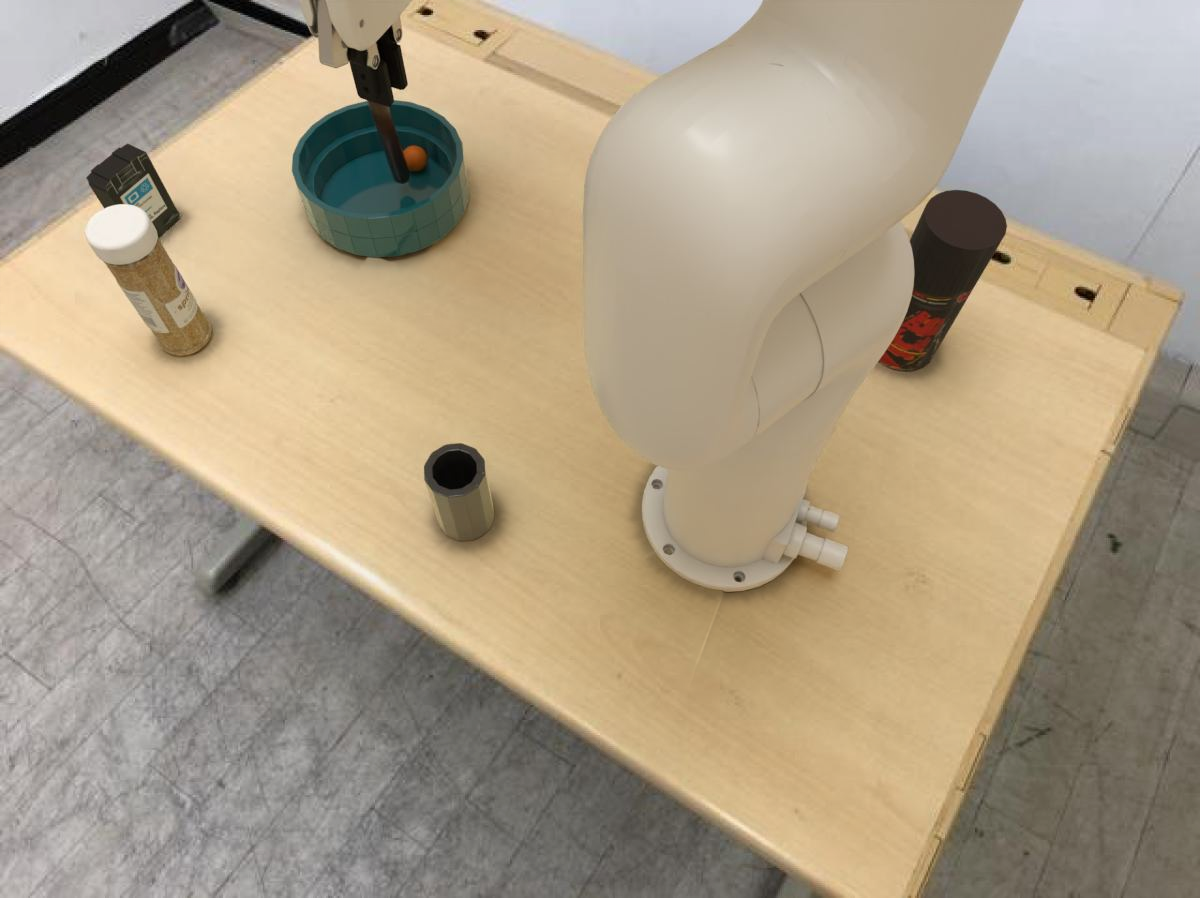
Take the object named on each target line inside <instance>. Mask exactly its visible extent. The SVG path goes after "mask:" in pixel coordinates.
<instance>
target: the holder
mask: <svg viewBox="0 0 1200 898" xmlns="http://www.w3.org/2000/svg"><path fill="white" fill-rule="evenodd" d="M488 475H489V474H488V470H487V466H486V460H485V458H484V457H483V455H482V454H481V453H480V452H479V451H478V450H477V448H475V447H473V446H470V445H468V444H465V443H462V442H457V443H449V444H448V443H446V444H444V445H442V446H440V447H439V448H437V449H436V450H433V451H432V452H431V453H430V454H429V456H428V458H427V459H426V461H425V463H424V465H423V479H424V483H425V486H426V489H427V493H428V495H429V498H430V501H431V505H432V508H433V511H434V514H435V517H436V520H437V523H438V526H439V528H440V529H441V530H442V532H443V533H444V534H445V536H446V537H449V538H450V539H452V540H456V541H458V542H471V541H475V540H477V539H479V538H481V537H483V536H484V535H485V534H486V533H488V532H489V530H490V529H491V528H492V525H493V523H494V521H495V510H494V503H493V502H494V501H493V497H492V492H491V486H490V481H489V476H488Z"/></svg>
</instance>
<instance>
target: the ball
mask: <svg viewBox="0 0 1200 898" xmlns="http://www.w3.org/2000/svg"><path fill="white" fill-rule="evenodd" d="M403 153H404V157H405V160H406V163H407V166H408V169H409V170H410V171H413V172H418V171H421V170H422V169H424V168H425V166H426V164H427V155H426V152H425V151H424V150H423V149H422V148H421V147H419V146H414V145H413V146H409V147H407V148H406V149H405V150H404V151H403Z"/></svg>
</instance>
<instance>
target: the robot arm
mask: <svg viewBox="0 0 1200 898" xmlns="http://www.w3.org/2000/svg"><path fill="white" fill-rule="evenodd" d="M1024 1H1025V0H762V1H761V4H760V5H759V7H758V8H757V10H756V11H755V12H754V14H753V15H752V16H751V17H750V18H749V19H748V20H747V21H746V22H745V23H744V24H743V25H742V26H741V27H740V28H739V29H738V30H737V31H735V32H734V33H732V34H731V35H729V37H728V38H726V39H725V40H723V41H721V42H720V43H718V44H717V45H715V46H713V47H711V48H709V49H707V50H706V51H704V52H701V53H700V54H698V55H696V56H694V57H693V58H691V59H689V60H688V61H686V62H684V63H682V64H680V65H678V66H677V67H675V68H673V69H671V70H670V71H668V72H666V73H664V74H663V75H661V76H659V77H657V78H656V79H654V80H652V81H651V82H650V83H648V84H647V85H645V86H644V87H643V88H641V89H640V90H638V91H637V92H635V93H634V94H633V95H632V96H631V97H629V98H628V99H627V100H626V101H625V102H624V103H623V104H622V105H621V106H620V107H619V108H618V109H617V110H616V111H615V112H614V114H613V115H612V116H611V118H609V120H608V122H607V123H606V125H605V126H604V128H603V129H602V131H601V133H600V135H599V136H598V138H597V140H596V143H595V145H594V147H593V149H592V152H591V154H590V156H589V160H588V164H587V167H586V172H585V178H584V186H583V205H582V324H583V325H582V330H583V332H582V333H583V348H584V359H585V365H586V369H587V373H588V378H589V382H590V386H591V389H592V392H593V394H594V397H595V400H596V402H597V404H598V407H599V408H600V411H601V413H602V415H603V417H604V419H605V421H606V422H607V424H608V426H609V427H610V428H611V430H612V431H613V432H614V434H615V435H616V436H617V438H619V440H620V441H621V442H622V443H623V444H624V445H625V446H626V447H627V448H628V449H629V450H630V451H631V452H632V453H634V454H635V455H636V456H638V457H640V458H641V459H643V460H645V461H646V462H648V463H650V464H652V465H654V466H656V467H654V470H653V471H652V472H651V474H650V476H649V477H648V479H647V482H646V485H645V487H644V490H643V495H642V501H641V520H642V526H643V530H644V532H645V535H646V538H647V541H648V543H649V544H650V546H651V548H652V550H653V551H654V553H655V554H656V556H657V557H658V558H659V559H660V560H661V561H662V563H664V564H665V566H666V567H667V568H669V569H670V570H671V571H672V572H673V573H675V574H676V575H678V576H680V578H682V579H684V580H686V581H689V582H691V583H693V584H695V585H698V586H701V587H704V588H707V589H712V590H718V591H719V590H720V591H722V592H727V593H729V592H744V591H747V590H752V589H755V588H760V587H761V586H763V585H766V584H767V583H769V582H772V581H774V580H775V579H776V578H778V577H779V576H780V575H782V573H784V572H785V571H786V569H787V568H788V567H789V566H790V565H791V564H792V563H793V562H794V560H796V559H797V558H798V556H801V557H804V558H806V559H809V560H811V561H814V562H815V563H817V564H819V565H822V566H825V567H827V568H830V569H833V570H836V571H838V572H840V571H841V569H842V568H843V565H844V563H845V561H846V559H847V555H848V552H849V546H848V545H845V544H843V543H840V542H838V541H835V540H833V539H830V538H827V537H824V538H823V537H820V536H818V535H815V534H813V533H810V532H808V531H807V530H808V525H807V524H808V523H809V524H811V525H814V526H816V527H817V528H820V529H822V530H825V531H827V532H831V533H834V532H835V531H836V529H837V526H838V524H839V521H840V518H841V515H840V514H837V513H835V512H832V511H830V510H827V509H822V508H821V509H820V508H819V507H815V506H813V505H811V501H810V500H807V499H804V497H805V494H806V491H807V488H808V485H809V481H810V480H811V478H812V476H813V473H814V472H815V469H816V467H817V464H818V463H819V461H820V459H821V457H822V454H823V453H824V450H825V448H826V447H827V446H828V444H829V442H830V440H831V438H832V437H833V434H834V432H835V430H836V428H837V426H838V424H839V422H840V421H841V418H842V417H843V415H844V413H845V411H846V409H847V407H848V406H849V404H850V403H851V401H852V400H853V398H854V396H855V395H856V394H857V392H858V390H859V389H860V388H861V386H862V385H863V383H864V382H865V381H866V379H867V377H869V375H870V374H871V372H872V371H873V369H874V368H875V366H876V365H878V362H879V360H880V358H881V357H882V355H883V354H884V353H885V351H886V350H887V348H888V347H889V345H890V343H891V342H892V340H893V339H894V337H895V335H896V334H897V332H898V330H899V328H900V326H901V324H902V322H903V320H904V318H905V315H906V313H907V310H908V307H909V304H910V300H911V297H912V292H913V286H914V258H913V252H912V247H911V244H910V238H909V235H908V233H907V231H906V229H905V226H904V224H903V222H902V220H903V219H905V218H906V217H907V216H909V214H911V213H913V211H915V210H916V209H917V208H918V207H919V206H920V205H921V204H922V203H923V202H924V201H926V199H927V198H928V197H929V196H930V194H932V193H933V191H934V190H935V188H937V186H938V185H939V183H940V182H941V180H942V179H943V177H944V176H945V174H946V172H947V171H948V168H949V167H950V165H951V163H952V161H953V159H954V157H955V154H956V153H957V150H958V148H959V146H960V144H961V141H962V139H963V136H964V135H965V132H966V129H967V127H968V125H969V123H970V121H971V118H972V116H973V113H974V112H975V109H976V107H977V104H978V102H979V100H980V98H981V96H982V94H983V92H984V89H985V87H986V85H987V83H988V80H989V78H990V75H991V73H992V71H993V69H994V67H995V65H996V62H997V61H998V59H999V57H1000V54H1001V52H1002V49H1003V47H1004V45H1005V43H1006V40H1007V38H1008V36H1009V34H1010V31H1011V29H1012V28H1013V26H1014V23H1015V21H1016V18H1017V16H1018V14H1019V12H1020V10H1021V7H1022V5H1023V3H1024ZM412 2H413V0H298V3H299V6H300V9H301V11H302V15H303V18H304V21H305V24H306V26H307V28H308V30H309V32H310V34H311V35H312V37H314V38H317V39H318V61H319V63H320V65H323V66H327V67H329V68H333V69H338V68H342V67H344V66H346V65H348V64H349V67H350V70H351V75H352V78H353V83H354V86H355V89H356V93H357V96H358V97H359V98H360V99H362V100H364V101H367V100H368V101H371V102H374V103H377V104H381V105H384V106H387V107H390V106H391V105H392V104H393V103H394V100H395V97H394V93H393V92H394V91H393V89H396V90H400V91H401V90H402V91H404V90H405V89H406V88H407V87H408V85H409V83H408V77H407V72H406V67H405V62H404V57H403V52H402V46H401V45H400V44H399V43H400V42H401V41H402V40H403V27H402V21H401V15H402V14H403V13H404V11H406V9H407V8H408V7H409V5H410V4H411V3H412ZM655 486H658V487H659V488H655ZM667 550H669V551H671V554H667V553H666V551H667ZM736 579H739V581H737V580H736Z"/></svg>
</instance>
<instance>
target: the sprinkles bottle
mask: <svg viewBox="0 0 1200 898" xmlns="http://www.w3.org/2000/svg"><path fill="white" fill-rule="evenodd" d="M84 237H85V241H86V242H87V243H88V246H89V247H90V248H91V250H92V251H93V253H94V254H95V256H96V257H97V258H98V259H99V260H100V261H102V262H103V263H104V264H105V265H106V267H107V268H108V270H109V271H110V273H111V274H112V276H113V277H114V279H115V281H116V283H117V285H118V286H119V287H120V289H121V290H122V292H123V293H124V295H125V296H126V298H127V299H128V301H129V302H130V304H131V305H132V307H133V308H134V310H135V311H136V313H137V314H138V316H139V317H140V318H141V320H142V321H143V322H144V324H145V326H147V327H148V329H149V330H150V331H151V332H152V334H153V335H154V336H155V338H156V339H157V343H158V344H159V347H160V348H161V349H162V350H163V351H164V352H166V353H168V354H169V355H172V356H178V357H182V356H189V355H193V354H195V353H196V352H198V351H200V350H201V349H203V348H204V347H206V345H207V344H208V343H209V341H210V339H211V338H212V337H211V336H212V334H213V326H212V323H211V322H210V320H209V319H208V318H207V317H206V316H205V314H204V313H203V311H202V310H201V309H202V308H201V307H200V306H199V304H198V303H197V299H196V298H195V296H194V294H193V292H192V291H191V289H190V287H189V286H188V284H187V283H186V281H185V279H184V278H183V275H182V274H181V273H180V271H179V269H178V268H177V267H178V266H176V264H175V263H174V262H173V261H172V258H171V257H170V256H169V253H168V252H167V250H166V249H165V247H164V245H163V244H162V242H161V240H160V238H158V234H157V230H156V228H155V227H154V225H153V223H152V221H151V220H150V218H149V217H148V215H147V214H146V213H145V211H143V210H142V209H141V208H139V207H137V206H134V205H129V204H118V205H113V206H109V207H106V208H104V207H103V208H102V209H100V210H98V211H97V212H96V213H94V214H93V215H92V216H91V217H90V218H89V220H88V222H87V223H86V225H85V227H84Z"/></svg>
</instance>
